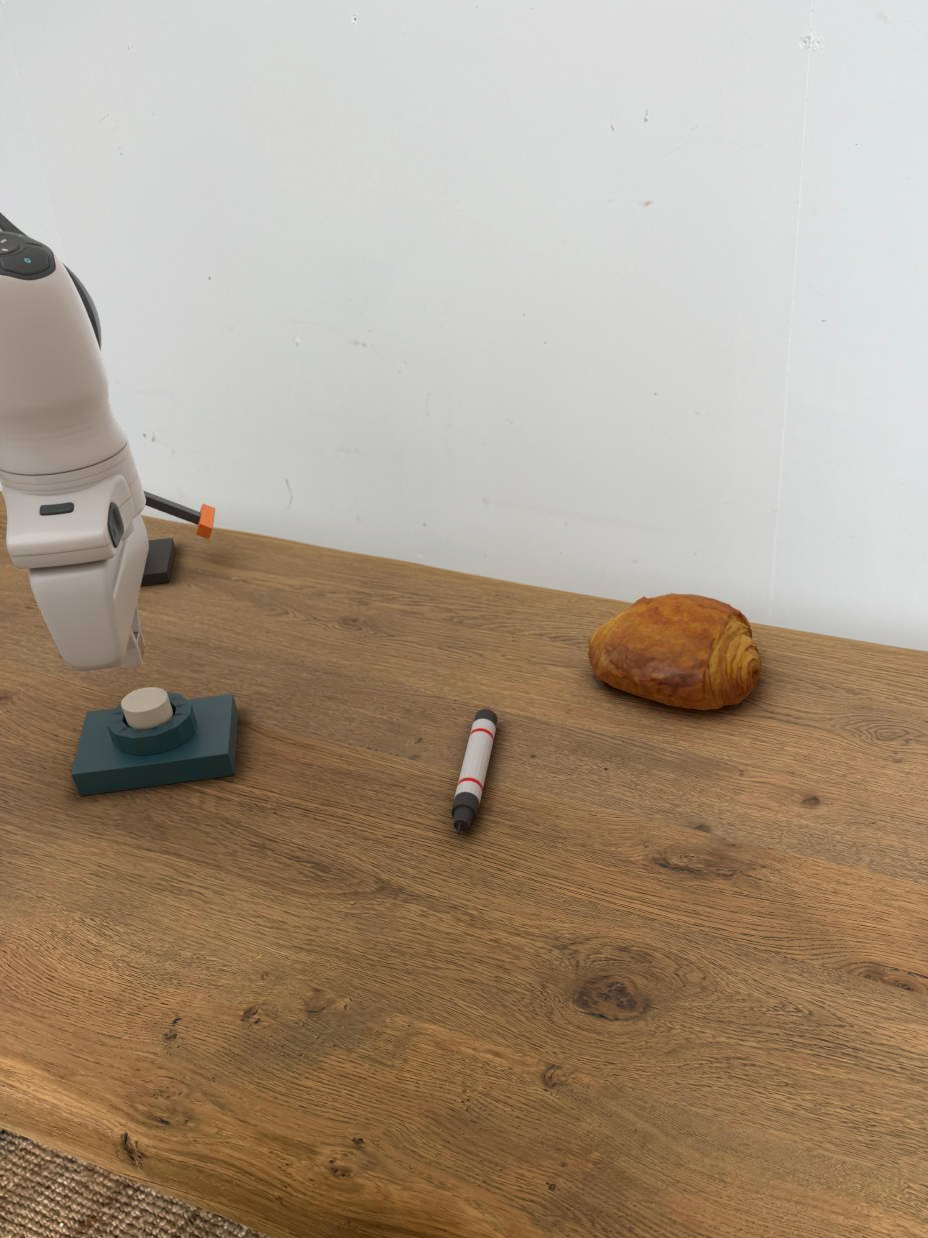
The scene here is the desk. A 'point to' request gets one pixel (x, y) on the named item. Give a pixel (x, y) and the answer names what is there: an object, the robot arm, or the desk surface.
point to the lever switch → (185, 513)
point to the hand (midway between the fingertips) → (133, 658)
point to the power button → (147, 708)
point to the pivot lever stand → (159, 561)
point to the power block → (157, 746)
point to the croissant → (678, 652)
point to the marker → (474, 770)
